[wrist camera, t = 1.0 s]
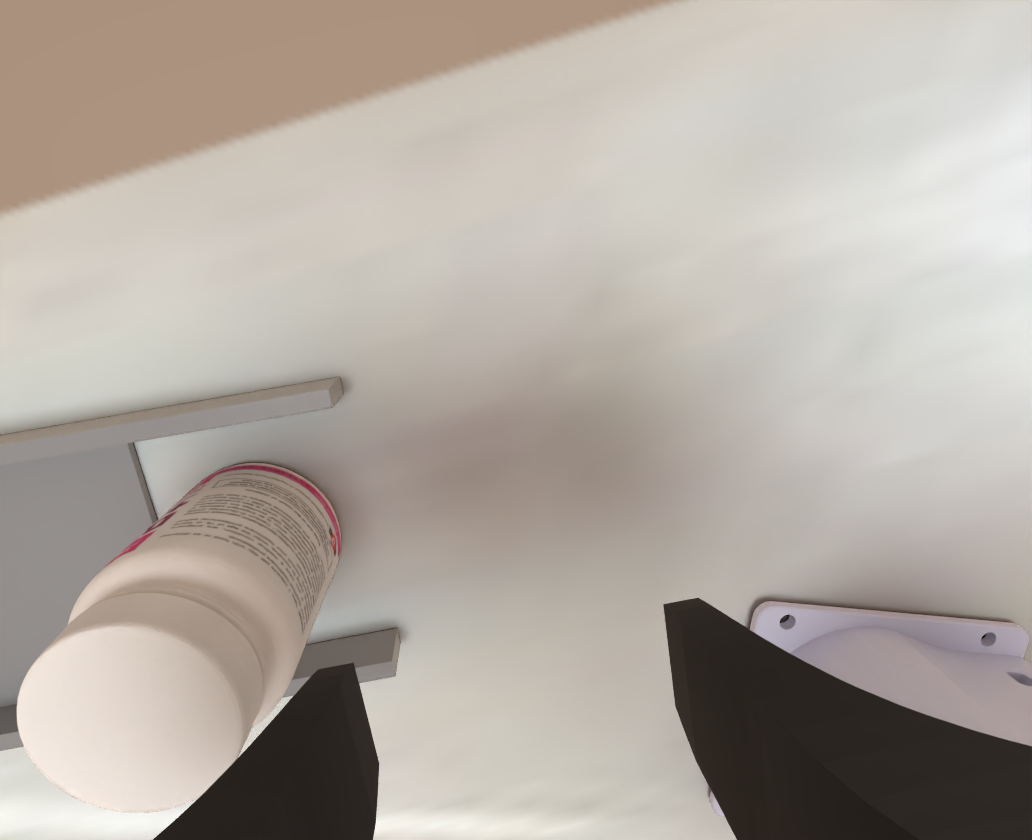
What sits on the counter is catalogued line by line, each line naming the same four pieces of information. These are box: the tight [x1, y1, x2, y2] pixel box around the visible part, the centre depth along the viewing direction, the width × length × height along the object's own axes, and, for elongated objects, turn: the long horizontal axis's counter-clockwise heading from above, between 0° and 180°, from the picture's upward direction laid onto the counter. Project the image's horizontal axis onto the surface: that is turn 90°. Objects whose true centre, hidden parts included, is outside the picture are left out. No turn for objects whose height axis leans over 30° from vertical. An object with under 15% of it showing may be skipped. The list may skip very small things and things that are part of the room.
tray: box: [0, 377, 401, 751], centre depth 20 cm, size 15×9×2 cm, turn 99°
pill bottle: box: [17, 463, 341, 813], centre depth 16 cm, size 5×5×8 cm
